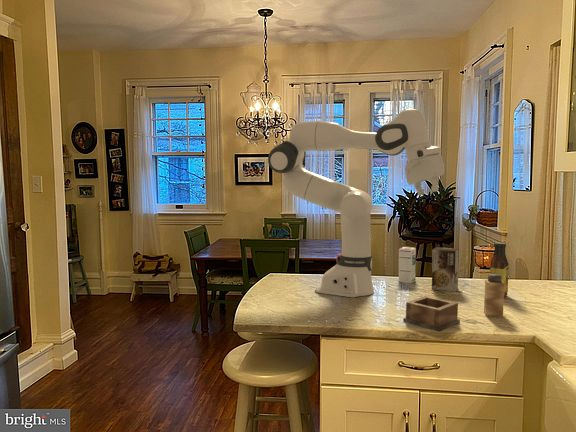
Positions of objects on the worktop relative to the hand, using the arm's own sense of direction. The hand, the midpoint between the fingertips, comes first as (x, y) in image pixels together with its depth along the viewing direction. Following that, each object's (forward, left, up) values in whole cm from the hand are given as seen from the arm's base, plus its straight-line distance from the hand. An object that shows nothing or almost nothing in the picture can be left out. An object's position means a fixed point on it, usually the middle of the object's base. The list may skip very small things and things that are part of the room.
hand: (428, 193), depth 154 cm
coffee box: (+7, +23, -39) cm, 46 cm away
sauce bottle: (+26, +19, -39) cm, 50 cm away
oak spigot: (+21, -8, -39) cm, 45 cm away
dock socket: (+2, -22, -39) cm, 45 cm away
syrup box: (-8, +31, -39) cm, 50 cm away
